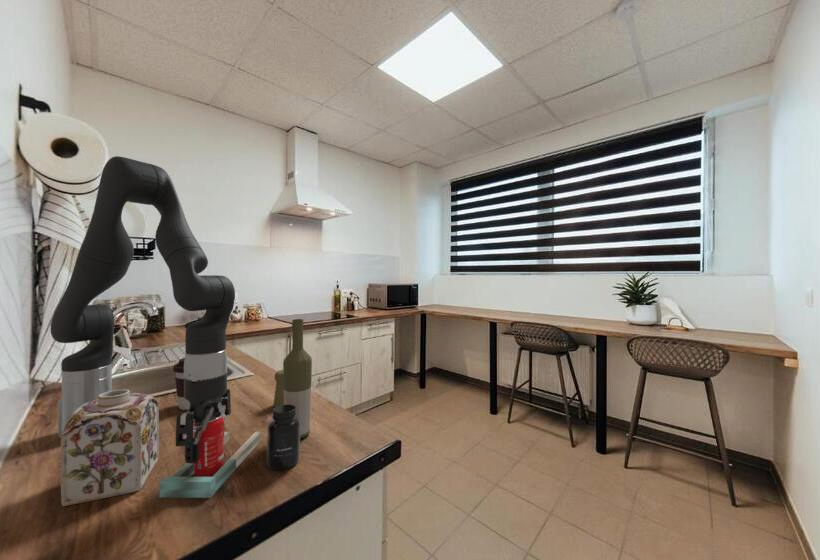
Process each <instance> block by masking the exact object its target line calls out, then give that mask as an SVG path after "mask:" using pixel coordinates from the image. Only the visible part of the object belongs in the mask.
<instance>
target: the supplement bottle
mask: <svg viewBox="0 0 820 560" xmlns="http://www.w3.org/2000/svg"><path fill="white" fill-rule="evenodd" d="M271 418H272V419H271V421H270V422H269V423H268V425H267V431H266V435H267V437H266V442H267V443H266V465H267V467H269V468H270V469H271V470H273V471H283V470H288V469H290V468H292V467H294V466H295V465H296V464H297V463H298V462H299V460H300V455H301V454H300V453H301V451H300V449H301V438H300V421H299V419H298V418H296V407H295V406H293V405H281V406H278V407H276V408H274V407H273V409H272V415H271Z"/></svg>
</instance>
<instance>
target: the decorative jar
mask: <svg viewBox="0 0 820 560" xmlns="http://www.w3.org/2000/svg"><path fill="white" fill-rule="evenodd" d="M130 391H131V390H129V389H116V390H113V389H112V391H109V392H105V393H102V394H100V395H99V396H98V399H96V400H94V401H91V402H88V403H85V404H83V405H82V406H80V407H79V408H77V409H76V410H75V411H74V412H73V413H72V414H71V416H70V417H69V420H68V422H67V423H66V425H65V427H64V430H63V431H62V433H61V434H60V435H61V437H60V500H61V501H60V502H61V507H67V506H73V505H77V504H83V503H84V504H85V503H88V502H89V503H90V502H93V501H97V500H103V499H107V498H112V497H116V496H121V495H126V494H131V493H135V492H136V493H137V492H140V491H141V489H142V488H143V486H144V485H145V483H146V481H147V479H148V477H149V476H150V474H151V472H152V471H153V469H154V467H155V466H156V464H157V463H158V461H159V460H160V459H159V453H160V451H159V450H160V419H159V417H160V414H159V413H160V411H159V404H160V402H159V401H158V400H157V399H156V398H155V397H154V396H153V395H149V394H146V393H142V392H141V393H140V392H136V393H131V392H130Z"/></svg>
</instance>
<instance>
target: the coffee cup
mask: <svg viewBox="0 0 820 560" xmlns="http://www.w3.org/2000/svg"><path fill="white" fill-rule="evenodd" d="M184 360H185V357H183V358H180V359H179V361H178V362H177V363H175V364H174V365H173V366H172V371H173V372H174V373H175V378H174V380H175V391H176V396H177V400H178V402H177V403H178V409H180V410H182V411H188V410H189V407H190V402H189V401H188V400H186V399H185V398H184Z"/></svg>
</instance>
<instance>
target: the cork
mask: <svg viewBox="0 0 820 560" xmlns="http://www.w3.org/2000/svg"><path fill="white" fill-rule="evenodd" d="M274 380H275V382H276V383H275V389H274V395H273V396H274V398H273V404H272V406H273V408H274V407H275V408H276V407H278V406H281V405H284V377H283V369H281V370H278V371H276V372H275V373H274Z"/></svg>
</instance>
